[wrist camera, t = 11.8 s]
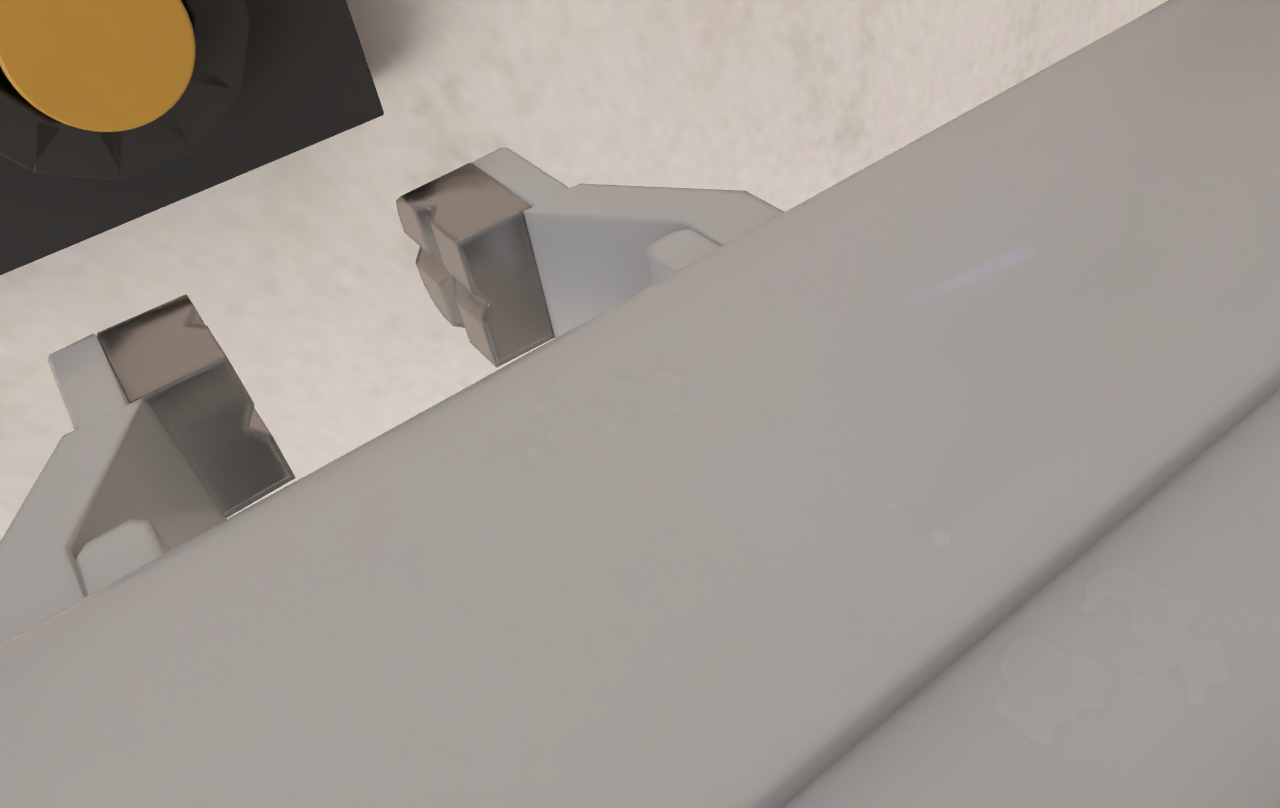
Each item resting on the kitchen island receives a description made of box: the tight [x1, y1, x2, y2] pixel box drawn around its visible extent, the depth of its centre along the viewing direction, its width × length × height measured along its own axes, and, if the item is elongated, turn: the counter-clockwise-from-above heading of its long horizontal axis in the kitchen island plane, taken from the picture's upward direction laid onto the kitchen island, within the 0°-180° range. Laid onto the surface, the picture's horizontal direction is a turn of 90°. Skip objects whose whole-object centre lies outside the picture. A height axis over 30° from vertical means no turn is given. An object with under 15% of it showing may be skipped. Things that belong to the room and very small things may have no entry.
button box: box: [0, 0, 384, 275], centre depth 21 cm, size 12×10×4 cm
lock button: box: [0, 0, 196, 132], centre depth 20 cm, size 4×4×2 cm
